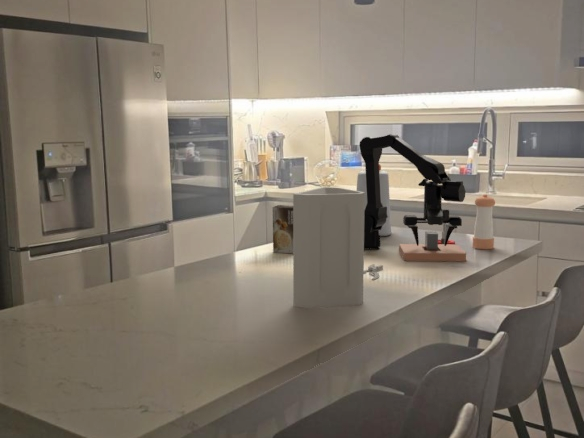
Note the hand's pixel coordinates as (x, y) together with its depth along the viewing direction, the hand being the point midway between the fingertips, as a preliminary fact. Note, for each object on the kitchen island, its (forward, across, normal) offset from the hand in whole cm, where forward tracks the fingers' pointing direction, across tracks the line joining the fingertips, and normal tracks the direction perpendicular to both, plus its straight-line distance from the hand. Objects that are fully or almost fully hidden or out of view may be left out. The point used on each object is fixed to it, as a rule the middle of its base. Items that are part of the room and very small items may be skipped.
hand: (431, 245), depth 224 cm
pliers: (+4, -23, -27) cm, 35 cm away
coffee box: (+4, -49, +5) cm, 49 cm away
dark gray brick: (+4, 0, 0) cm, 4 cm away
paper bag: (+4, -33, -57) cm, 66 cm away
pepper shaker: (+4, +21, +16) cm, 27 cm away
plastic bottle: (+4, -17, +44) cm, 47 cm away
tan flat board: (+4, 0, 0) cm, 4 cm away
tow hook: (+4, +8, +23) cm, 25 cm away
